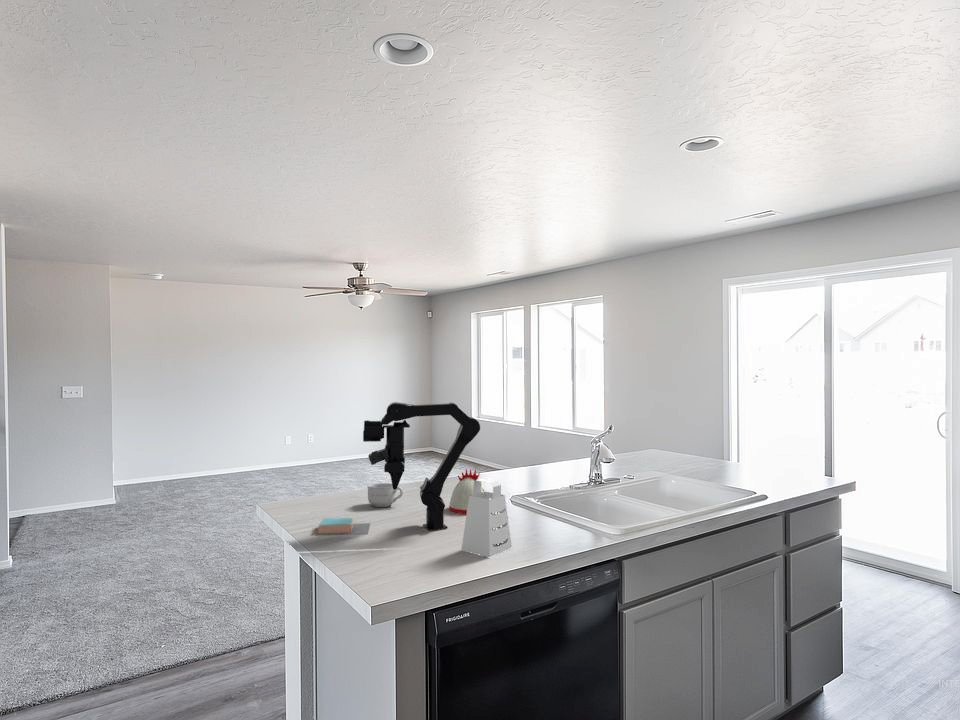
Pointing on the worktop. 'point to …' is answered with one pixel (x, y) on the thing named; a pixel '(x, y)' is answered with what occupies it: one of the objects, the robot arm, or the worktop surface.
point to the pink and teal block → (335, 525)
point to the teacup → (382, 494)
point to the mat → (356, 530)
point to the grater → (486, 521)
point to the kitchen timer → (463, 493)
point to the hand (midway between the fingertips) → (394, 489)
